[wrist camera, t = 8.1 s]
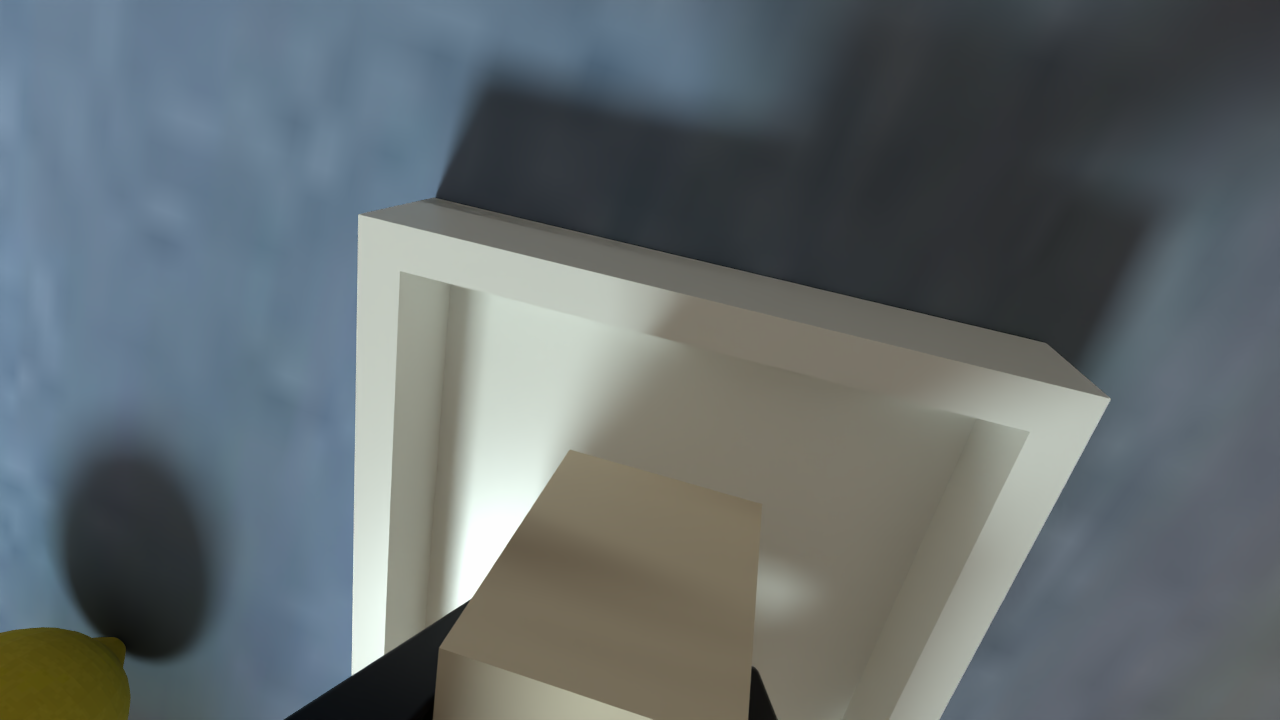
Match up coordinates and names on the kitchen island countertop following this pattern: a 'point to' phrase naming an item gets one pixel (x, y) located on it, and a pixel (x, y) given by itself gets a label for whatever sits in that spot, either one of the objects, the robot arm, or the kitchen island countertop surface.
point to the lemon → (62, 676)
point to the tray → (703, 441)
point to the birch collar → (611, 605)
